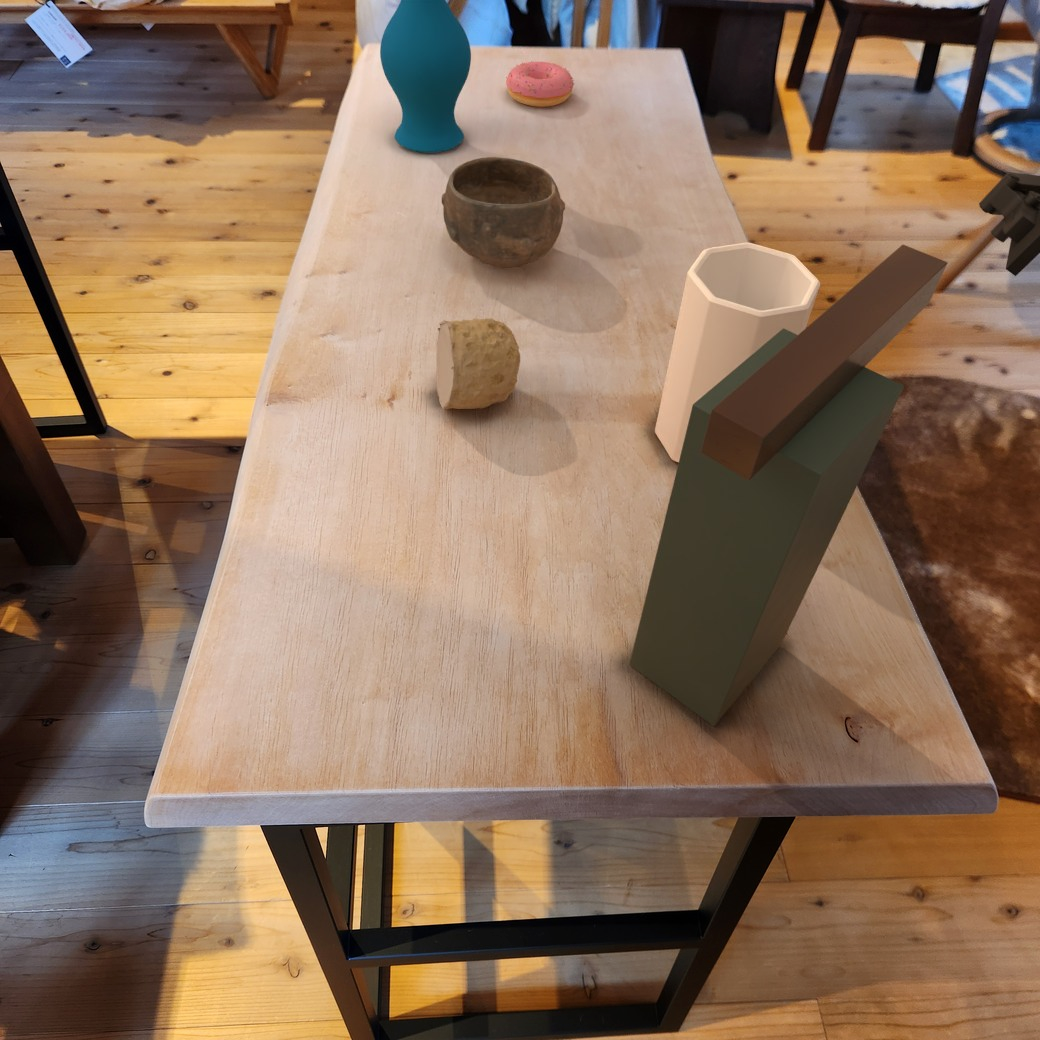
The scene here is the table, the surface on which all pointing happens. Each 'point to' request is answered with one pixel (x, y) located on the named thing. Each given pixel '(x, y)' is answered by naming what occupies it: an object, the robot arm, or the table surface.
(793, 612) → the stand
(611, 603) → the table surface
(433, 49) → the vase
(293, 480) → the table surface
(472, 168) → the bowl
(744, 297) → the cup
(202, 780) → the table surface
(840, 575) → the table surface
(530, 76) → the doughnut
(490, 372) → the cut tuber
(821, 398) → the rod
